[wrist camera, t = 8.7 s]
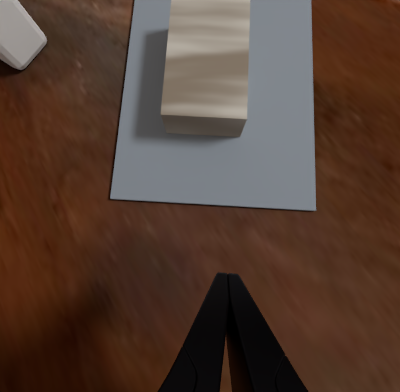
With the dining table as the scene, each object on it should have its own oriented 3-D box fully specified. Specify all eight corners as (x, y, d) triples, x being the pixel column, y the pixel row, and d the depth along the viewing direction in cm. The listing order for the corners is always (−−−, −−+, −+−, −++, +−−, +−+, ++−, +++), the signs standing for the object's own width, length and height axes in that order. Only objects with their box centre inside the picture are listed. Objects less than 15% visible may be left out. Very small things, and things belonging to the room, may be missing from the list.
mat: (314, 211, 19) (316, 210, 18) (111, 199, 19) (110, 198, 18) (309, -4, 22) (310, -8, 22) (137, -12, 22) (136, -16, 22)
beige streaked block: (247, 119, 16) (250, -3, 18) (160, 114, 16) (171, -7, 18) (239, 137, 19) (243, 30, 21) (166, 133, 19) (175, 27, 21)
